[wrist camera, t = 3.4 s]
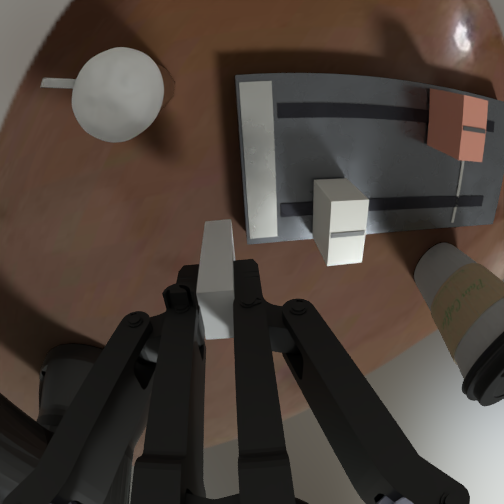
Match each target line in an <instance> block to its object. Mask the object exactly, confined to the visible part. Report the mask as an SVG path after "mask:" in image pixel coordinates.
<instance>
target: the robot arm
mask: <svg viewBox="0 0 504 504" xmlns="http://www.w3.org/2000/svg"><path fill="white" fill-rule="evenodd" d="M162 294H163V298H164V301H165V305H166V308H167V309H166V312H164V313H162V314H160V315H157V316H153V317H149V315H148V314H147V313H145V312H142V311H136V312H132V313H130V314H128V315H126V316H125V317H124V318H123V319H122V321H121V322H120V324H119V325H118V327H117V328H116V330H115V332H114V333H113V335H112V336H111V338H110V339H109V341H108V343H107V344H106V346H105V347H104V349H103V350H102V349H99V348H96V347H92V346H87V345H81V344H65V345H60V346H57V347H55V348H53V349H51V350H50V351H49V352H48V353H47V355H46V357H45V359H44V362H43V364H42V366H41V370H40V384H39V416H38V419H37V422H36V421H35V420H34V419H32V418H31V417H30V416H28V415H27V414H26V413H24V412H23V411H22V410H20V409H19V408H18V407H17V406H15V405H14V404H13V403H12V402H11V401H9V400H8V399H7V398H6V397H5V396H3V395H2V394H1V393H0V504H129V493H130V480H131V469H132V459H133V452H134V448H135V446H136V444H137V442H138V440H139V438H140V436H141V435H142V433H143V431H144V429H145V427H146V426H147V427H146V434H145V442H144V450H143V454H142V456H140V457H138V458H137V460H136V462H135V466H134V474H133V482H132V492H131V503H130V504H308V503H307V502H305V501H302V500H300V499H298V498H295V496H294V490H293V482H292V475H291V468H290V462H289V457H288V454H287V451H286V446H285V438H284V431H283V424H282V418H281V411H280V404H279V397H278V390H277V383H276V376H275V370H274V363H273V356H272V351H275V352H281V353H282V354H283V357H284V359H285V361H286V363H287V365H288V366H289V368H290V370H291V372H292V374H293V376H294V378H295V380H296V382H297V383H298V385H299V387H300V389H301V391H302V393H303V395H304V397H305V398H306V400H307V402H308V404H309V406H310V408H311V410H312V412H313V413H314V415H315V417H316V419H317V421H318V423H319V424H320V426H321V428H322V430H323V432H324V434H325V436H326V437H327V439H328V441H329V443H330V445H331V447H332V448H333V450H334V452H335V454H336V456H337V457H338V459H339V461H340V463H341V465H342V467H343V468H344V470H345V472H346V474H347V476H348V477H349V479H350V481H351V483H352V485H353V486H354V488H355V490H356V491H357V493H358V494H359V496H360V497H361V499H362V500H363V501H364V502H365V503H366V504H469V502H470V496H469V493H468V490H467V489H466V488H465V487H464V486H463V485H462V484H460V483H459V482H457V481H456V480H454V479H453V478H451V477H450V476H448V475H447V474H445V473H444V472H442V471H441V470H439V469H438V468H436V467H435V466H434V465H432V464H430V463H429V462H428V461H426V460H425V459H423V458H422V457H420V456H419V455H418V453H417V452H416V450H415V449H414V447H413V446H412V444H411V443H410V441H409V440H408V439H407V437H406V436H405V434H404V433H403V431H402V430H401V428H400V427H399V426H398V424H397V423H396V421H395V420H394V418H393V417H392V415H391V414H390V413H389V411H388V410H387V408H386V407H385V405H384V404H383V403H382V401H381V400H380V398H379V397H378V395H377V394H376V393H375V391H374V390H373V388H372V387H371V385H370V384H369V383H368V381H367V380H366V378H365V377H364V375H363V374H362V373H361V371H360V370H359V368H358V367H357V366H356V364H355V363H354V361H353V360H352V359H351V357H350V356H349V354H348V353H347V352H346V350H345V349H344V347H343V346H342V345H341V343H340V342H339V340H338V339H337V338H336V336H335V335H334V333H333V332H332V331H331V329H330V328H329V326H328V325H327V324H326V322H325V321H324V319H323V318H322V317H321V315H320V314H319V313H318V311H317V310H316V308H315V307H314V306H313V304H311V303H310V302H309V301H307V300H304V299H292V300H289V301H287V302H286V303H285V304H284V305H283V306H277V305H273V304H270V303H268V302H267V301H266V300H265V299H264V298H263V295H262V289H261V282H260V275H259V269H258V264H257V263H256V262H255V261H254V260H253V259H248V260H236V261H235V253H234V243H233V233H232V222H231V219H228V220H217V221H206V222H205V227H204V234H203V242H202V249H201V257H200V264H196V265H184V266H183V267H182V268H181V270H180V271H179V273H178V278H177V282H176V284H173V285H171V286H169V287H167V288H166V289H165V290H164V292H163V293H162ZM204 337H206V339H222V338H234V354H235V380H236V404H237V426H238V446H239V458H238V475H239V490H240V491H239V494H235V495H232V496H228V497H224V498H220V499H208V498H206V493H205V488H204V482H203V441H204V392H205V362H206V346H205V342H204Z"/></svg>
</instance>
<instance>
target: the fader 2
mask: <svg viewBox="0 0 504 504" xmlns="http://www.w3.org/2000/svg"><path fill="white" fill-rule="evenodd" d="M487 112H488V101H487V100H483V99H479V98H475V97H471V96H467V95H462V94H457V93H452V92H447V91H442V90H437V89H431V88H430V104H429V124H428V138H427V145H428V146H430V147H432V148H434V149H437V150H439V151H441V152H443V153H445V154H447V155H449V156H451V157H453V158H455V159H457V160H461V161H474V162H482V159H483V152H484V144H485V135H486V124H487Z"/></svg>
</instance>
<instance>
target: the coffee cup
mask: <svg viewBox="0 0 504 504" xmlns="http://www.w3.org/2000/svg"><path fill="white" fill-rule="evenodd" d="M414 280H415V283H416V285H417V287H418V289H419V290H420V292H421V294H422V296H423V298H424V299H425V301H426V303H427V305H428V307H429V309H430V311H431V315H432V318H433V320H434V322H435V324H436V326H437V327H438V329H439V331H440V333H441V335H442V337H443V340H444V341H445V344H446V346H447V348H448V350H449V352H450V354H451V356H452V358H453V360H454V362H455V363H456V364H457V365H458V367H459V369H460V372H461V374H462V376H463V378H464V381H463V384H462V392H463V393H464V394H466V395H467V397H468V399H470V400H474V401H475V400H478V402H479V403H480V404H481V405H482V406H489V405H492V404H494V403H496V402H499V401H500V400H502V399H504V282H503V281H501V280H500V279H499V278H498V277H497V276H495V275H494V274H493V273H492V272H490V271H489V270H488V269H487V268H485V267H484V266H482V265H481V264H478V263H476V262H475V261H474V260H472V259H471V258H470V257H468V256H467V255H466V254H464V253H463V252H462V251H460V250H459V249H458V248H456V247H455V246H453V245H452V244H449V243H439V244H437V245H435V246H433V247H432V248H430V249H429V250H428V251H427V252H426V253H425V254H424V255H423V256H422V258H421V259H420V261H419V262H418V264H417V266H416V269H415V272H414Z"/></svg>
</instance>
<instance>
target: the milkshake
mask: <svg viewBox="0 0 504 504" xmlns="http://www.w3.org/2000/svg"><path fill="white" fill-rule="evenodd" d="M41 88H72V89H73V93H72V108H73V112H74V115H75V117H76V119H77V121H78V122H79V124H80V125H81V127H82V128H83V129H84V130H85V131H86V132H87V133H88V134H90V135H92V136H93V137H95V138H98V139H100V140H103V141H107V142H123V141H127V140H130V139H132V138H134V137H136V136H137V135H139V134H140V133H142V132H143V131H144V130H145V129H147V128H148V127H149V126H150V125H151V124H152V122H153V121H154V120H155V118H156V117H157V116H158V114H159V113H160V111H161V110H162V109H163V108H164V107H165V106H166V105H167V104H168V102H169V101H170V100H171V99H172V98H173V96H174V89H175V81H174V79H173V78H172V76H171V75H170V73H169V72H168V70H167V69H165V68H163V67H162V66H160V65H159V64H157V63H155V62H154V61H153V60H152V59H151V58H150V57H149V56H148V55H146V54H144V53H143V52H141V51H138V50H135V49H131V48H126V47H116V48H112V49H109V50H106V51H104V52H102V53H100V54H98V55H96V56H94V57H93V58H91V59H90V60H89V61H88V62H87V63H86V64H85V65H84V66H83V68H82V69H81V71H80V72H79V74H78V76H77V79H66V78H43V79H42V83H41Z"/></svg>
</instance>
